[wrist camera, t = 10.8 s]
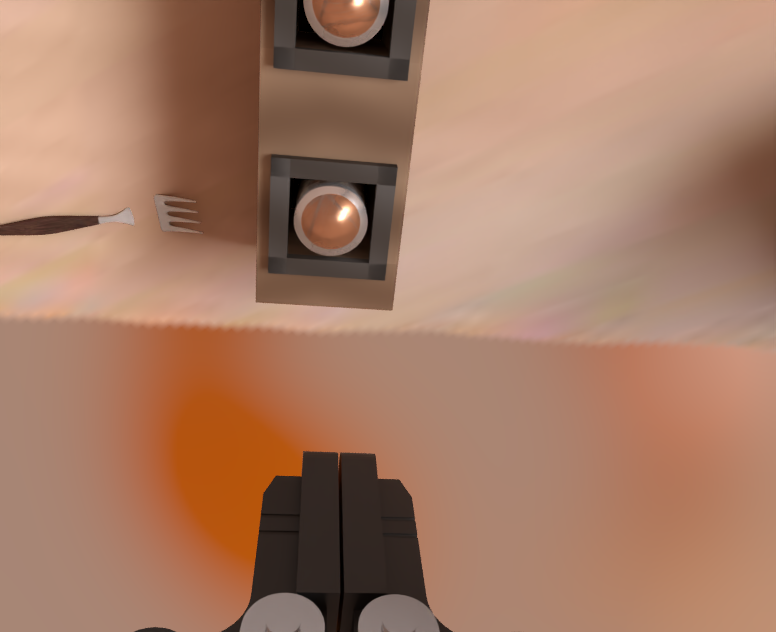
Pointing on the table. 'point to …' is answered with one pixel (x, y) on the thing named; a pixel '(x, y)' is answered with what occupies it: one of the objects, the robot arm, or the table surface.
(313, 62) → the walnut bar
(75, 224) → the fork
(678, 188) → the table surface
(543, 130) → the table surface
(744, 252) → the table surface
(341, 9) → the peg
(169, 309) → the table surface
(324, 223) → the peg
